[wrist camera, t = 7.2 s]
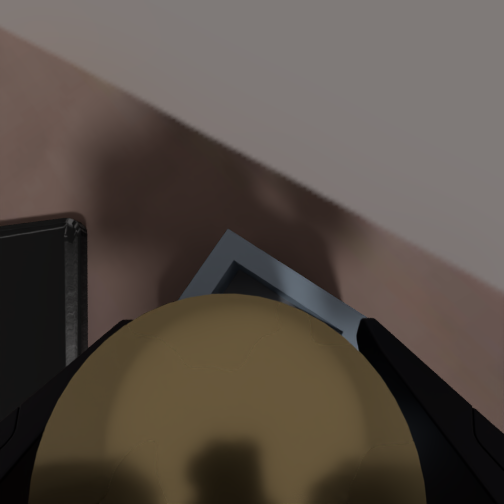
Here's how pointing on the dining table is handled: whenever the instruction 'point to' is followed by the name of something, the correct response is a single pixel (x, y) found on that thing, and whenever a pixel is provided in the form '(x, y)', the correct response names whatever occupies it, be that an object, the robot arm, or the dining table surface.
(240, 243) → the hitch socket
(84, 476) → the pin
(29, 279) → the phone
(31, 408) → the robot arm
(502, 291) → the dining table surface
